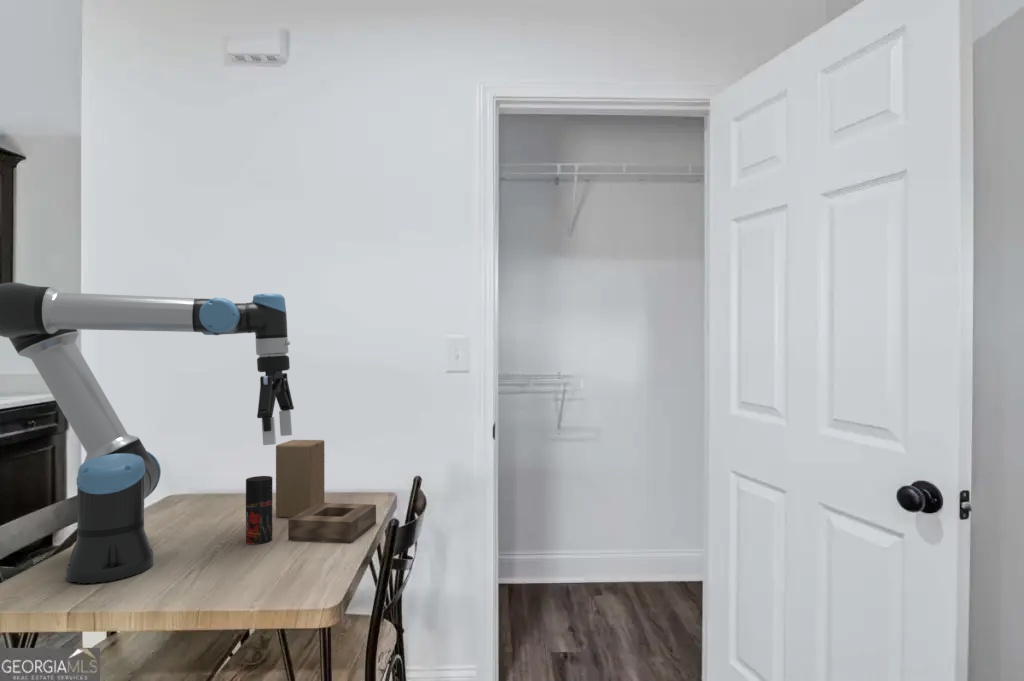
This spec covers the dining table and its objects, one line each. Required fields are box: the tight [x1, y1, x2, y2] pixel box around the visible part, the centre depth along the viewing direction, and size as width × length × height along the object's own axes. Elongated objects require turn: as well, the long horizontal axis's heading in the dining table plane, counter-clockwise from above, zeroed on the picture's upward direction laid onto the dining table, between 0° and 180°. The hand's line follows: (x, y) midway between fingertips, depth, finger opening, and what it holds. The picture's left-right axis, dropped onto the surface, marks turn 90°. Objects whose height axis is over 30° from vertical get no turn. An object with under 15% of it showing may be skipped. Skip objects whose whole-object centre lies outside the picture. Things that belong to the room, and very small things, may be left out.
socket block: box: [287, 502, 377, 544], centre depth 149 cm, size 16×16×5 cm
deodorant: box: [245, 475, 273, 546], centre depth 143 cm, size 6×6×15 cm
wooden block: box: [275, 439, 325, 519], centre depth 167 cm, size 10×10×20 cm
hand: (278, 439), depth 148 cm, fingers open, 13 cm apart
